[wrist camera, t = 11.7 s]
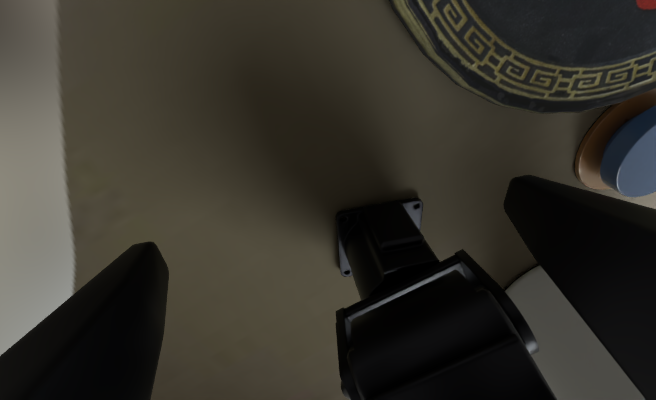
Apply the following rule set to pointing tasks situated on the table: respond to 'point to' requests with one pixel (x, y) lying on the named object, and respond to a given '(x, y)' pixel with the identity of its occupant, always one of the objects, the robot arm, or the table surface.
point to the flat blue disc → (632, 156)
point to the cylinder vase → (567, 344)
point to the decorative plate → (539, 49)
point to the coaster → (607, 137)
